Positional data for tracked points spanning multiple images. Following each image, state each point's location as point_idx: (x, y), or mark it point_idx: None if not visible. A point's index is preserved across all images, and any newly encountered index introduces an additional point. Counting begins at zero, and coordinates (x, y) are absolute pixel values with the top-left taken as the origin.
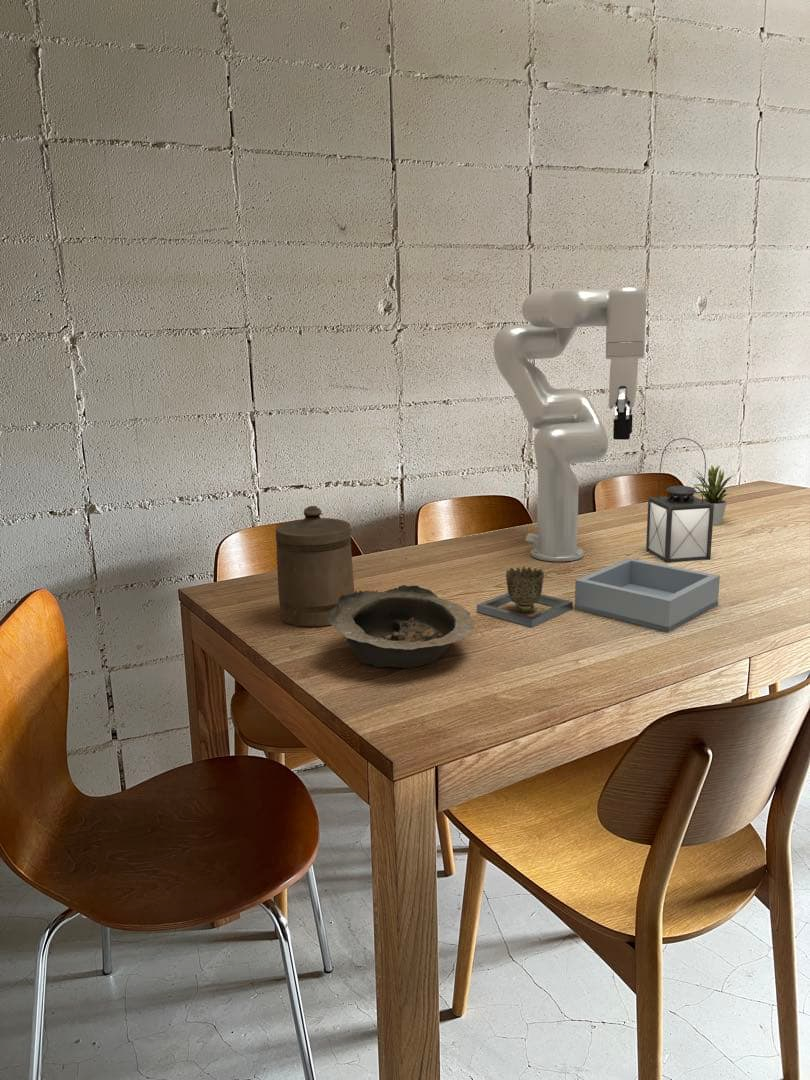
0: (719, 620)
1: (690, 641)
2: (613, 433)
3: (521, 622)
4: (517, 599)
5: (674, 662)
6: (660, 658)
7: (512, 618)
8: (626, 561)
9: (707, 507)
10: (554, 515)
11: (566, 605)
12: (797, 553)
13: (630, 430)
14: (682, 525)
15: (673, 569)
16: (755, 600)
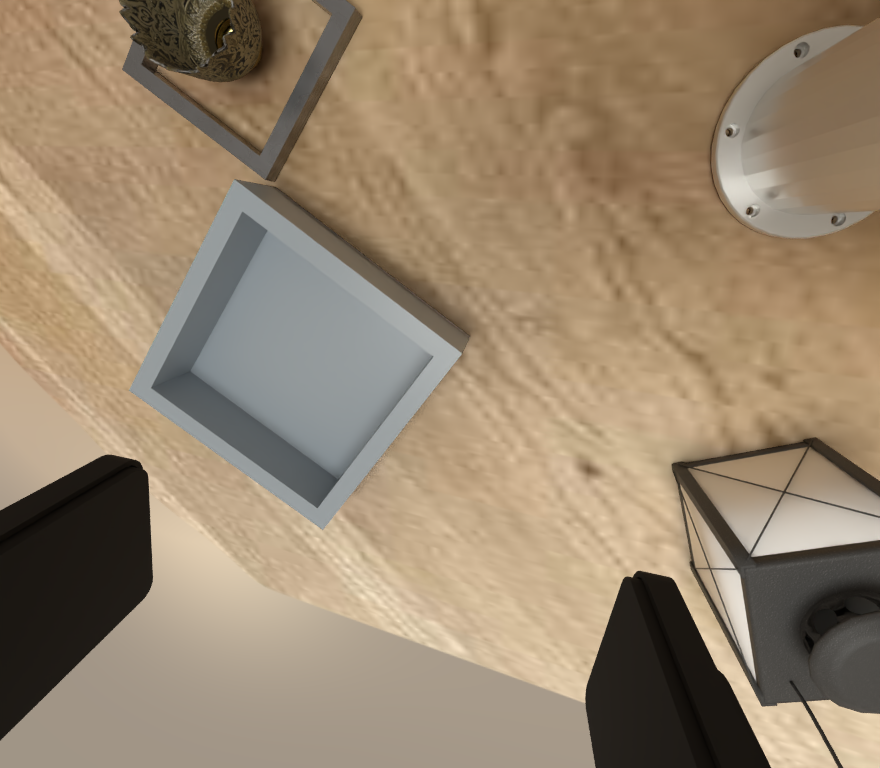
0: None
1: None
2: (61, 479)
3: None
4: (179, 10)
5: (50, 354)
6: (59, 334)
7: None
8: (426, 342)
9: (756, 679)
10: (842, 80)
11: (243, 162)
12: None
13: (588, 716)
14: (720, 565)
15: (365, 446)
16: (380, 563)
